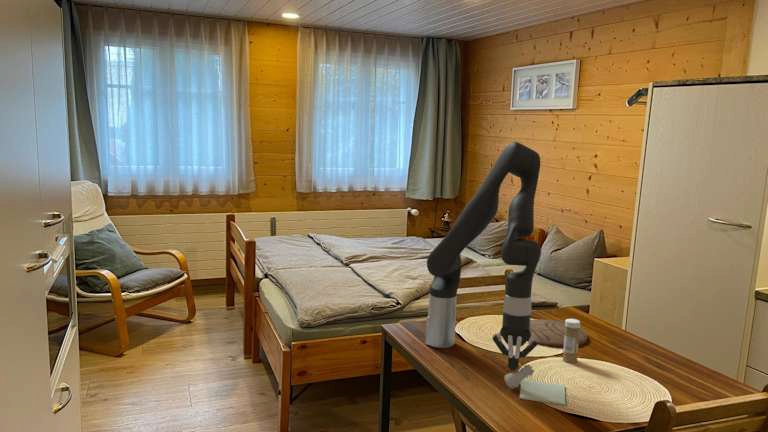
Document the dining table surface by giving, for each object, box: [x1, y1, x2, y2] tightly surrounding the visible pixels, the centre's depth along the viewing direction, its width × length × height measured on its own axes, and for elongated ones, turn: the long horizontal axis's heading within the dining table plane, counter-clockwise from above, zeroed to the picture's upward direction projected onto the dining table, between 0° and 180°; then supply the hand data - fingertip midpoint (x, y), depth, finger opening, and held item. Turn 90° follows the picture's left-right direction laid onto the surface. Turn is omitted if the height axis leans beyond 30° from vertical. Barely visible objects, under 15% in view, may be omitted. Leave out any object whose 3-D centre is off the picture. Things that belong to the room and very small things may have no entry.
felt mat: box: [519, 378, 566, 406], centre depth 164 cm, size 12×12×1 cm
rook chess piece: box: [504, 364, 535, 390], centre depth 164 cm, size 4×4×8 cm
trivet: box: [527, 318, 588, 349], centre depth 211 cm, size 25×25×2 cm
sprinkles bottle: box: [562, 318, 581, 364], centre depth 187 cm, size 5×5×14 cm
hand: (513, 369), depth 165 cm, fingers closed
